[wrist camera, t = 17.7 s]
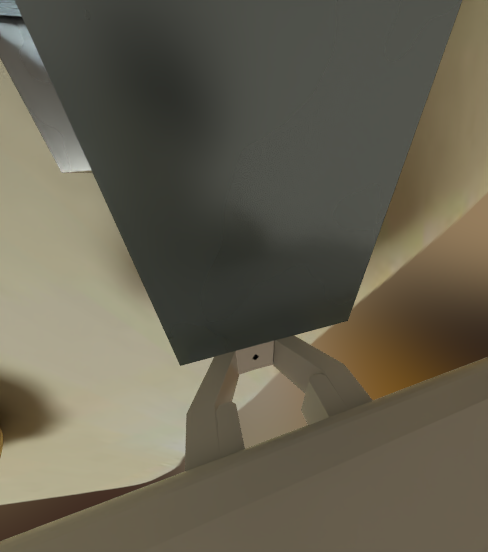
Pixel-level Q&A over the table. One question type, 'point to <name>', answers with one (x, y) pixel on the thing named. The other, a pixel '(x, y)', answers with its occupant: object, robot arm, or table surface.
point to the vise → (39, 95)
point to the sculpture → (1, 441)
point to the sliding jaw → (243, 145)
